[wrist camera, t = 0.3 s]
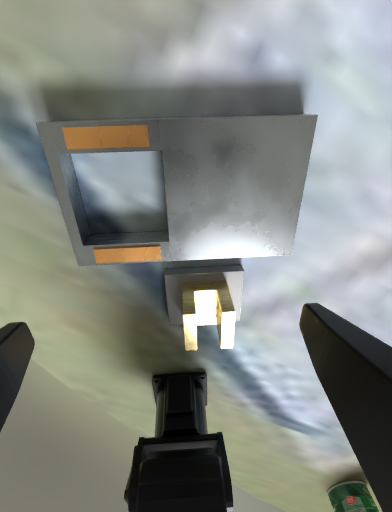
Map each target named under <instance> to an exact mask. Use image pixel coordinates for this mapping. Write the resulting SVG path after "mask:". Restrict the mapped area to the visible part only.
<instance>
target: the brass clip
mask: <svg viewBox="0 0 392 512" xmlns="http://www.w3.org/2000/svg"><path fill="white" fill-rule="evenodd" d="M182 295H183V322H184V337H185V351H190V350H197V325H210V324H217V329H218V334H219V340H220V346H221V348H233V339H234V325H235V309H234V305H233V301H232V298H231V294H230V291H229V287H228V284H227V281H220V282H202V283H184V284H182Z"/></svg>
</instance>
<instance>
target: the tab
mask: <svg viewBox="0 0 392 512" xmlns="http://www.w3.org/2000/svg"><path fill="white" fill-rule="evenodd" d="M164 277H165V286H166V296H167V306H168V316H169V325H184V322H183V295H182V284H184V283H202V282H220V281H227V284H228V287H229V291H230V294H231V298H232V301H233V305H234V309H235V321H240V313H241V301H242V289H243V278H244V269H243V267H242V265H231V266H212V267H193V268H174V269H165V273H164Z"/></svg>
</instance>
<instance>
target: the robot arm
mask: <svg viewBox="0 0 392 512" xmlns="http://www.w3.org/2000/svg"><path fill="white" fill-rule="evenodd" d="M299 325H300V330H301V333H302V336H303V338H304V341H305V344H306V347H307V350H308V352H309V355H310V358H311V361H312V364H313V366H314V369H315V371H316V374H317V376H318V378H319V380H320V382H321V384H322V386H323V389H324V391H325V393H326V395H327V397H328V399H329V401H330V403H331V405H332V407H333V409H334V411H335V413H336V416H337V418H338V420H339V422H340V424H341V426H342V428H343V430H344V432H345V434H346V436H347V438H348V440H349V443H350V445H351V447H352V449H353V451H354V453H355V455H356V457H357V459H358V461H359V463H360V465H361V467H362V469H363V472H364V474H365V476H366V478H367V480H368V482H369V484H370V486H371V488H372V490H373V492H374V494H375V496H376V499H377V501H378V503H379V505H380V507H381V509H382V511H383V512H392V347H391V346H389V345H387V344H386V343H384V342H382V341H381V340H379V339H377V338H375V337H374V336H372V335H370V334H369V333H367V332H365V331H364V330H362V329H360V328H359V327H357V326H355V325H354V324H352V323H350V322H349V321H347V320H345V319H343V318H342V317H340V316H338V315H337V314H335V313H333V312H332V311H330V310H328V309H327V308H325V307H323V306H322V305H320V304H318V303H306V304H304V306H303V309H302V313H301V318H300V323H299ZM34 345H35V343H34V339H33V336H32V334H31V332H30V330H29V328H28V326H27V324H26V323H25V322H13V323H9V324H7V325H6V326H4V327H2V328H1V329H0V432H1V429H2V427H3V425H4V423H5V421H6V418H7V416H8V414H9V412H10V410H11V408H12V406H13V403H14V401H15V399H16V397H17V394H18V392H19V389H20V387H21V384H22V381H23V378H24V375H25V372H26V369H27V366H28V363H29V361H30V358H31V355H32V352H33V349H34ZM152 385H153V390H154V396H155V402H156V407H157V409H156V424H155V437H152V438H145V437H139V442H138V445H137V446H135V448H134V455H133V462H132V467H131V472H130V475H129V479H128V482H127V486H126V489H125V494H124V499H125V501H126V502H127V504H128V509H129V512H233V495H232V485H231V478H230V471H229V466H228V461H227V455H226V450H225V445H224V440H223V435H222V432H217V433H213V434H208V431H207V421H206V410H205V406H206V405H207V374H206V373H205V372H199V373H185V374H170V375H156V376H153V377H152Z"/></svg>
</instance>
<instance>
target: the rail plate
mask: <svg viewBox="0 0 392 512" xmlns="http://www.w3.org/2000/svg"><path fill="white" fill-rule="evenodd" d="M317 117H318V115H311V114H287V115H251V116H215V117H179V118H143V119H107V120H71V121H47V122H38V123H36V125H37V129H38V132H39V135H40V139H41V142H42V145H43V149H44V152H45V155H46V159H47V162H48V165H49V169H50V172H51V175H52V179H53V182H54V185H55V189H56V192H57V195H58V199H59V202H60V205H61V209H62V212H63V215H64V219H65V222H66V225H67V229H68V232H69V235H70V239H71V242H72V245H73V249H74V252H75V256H76V259H77V262H78V266H88V265H107V264H126V263H146V262H165V261H184V260H204V259H223V258H242V257H262V256H281V255H291V253H292V248H293V243H294V238H295V232H296V227H297V222H298V217H299V211H300V206H301V201H302V195H303V190H304V185H305V180H306V174H307V169H308V164H309V159H310V153H311V148H312V143H313V138H314V132H315V127H316V122H317ZM132 151H162V157H163V169H164V181H165V193H166V206H167V218H168V230H169V231H152V232H131V233H109V234H90V230H89V226H88V222H87V218H86V214H85V210H84V206H83V202H82V198H81V194H80V190H79V186H78V183H77V179H76V175H75V171H74V167H73V163H72V159H71V155H70V154H71V153H102V152H132Z"/></svg>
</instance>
